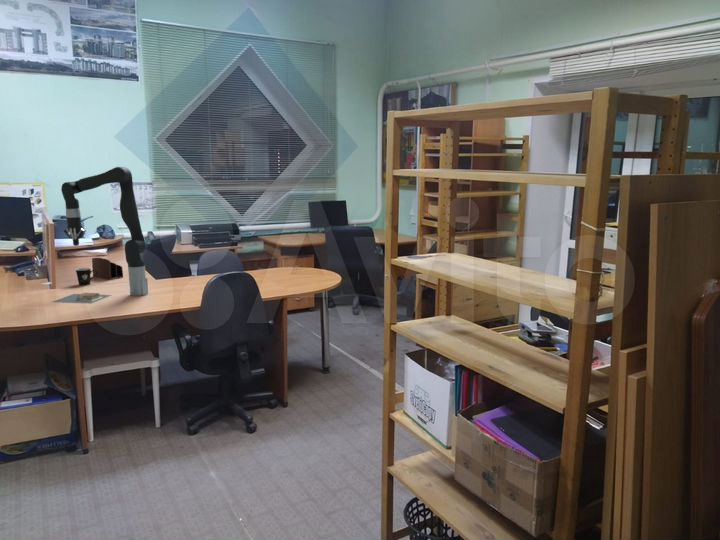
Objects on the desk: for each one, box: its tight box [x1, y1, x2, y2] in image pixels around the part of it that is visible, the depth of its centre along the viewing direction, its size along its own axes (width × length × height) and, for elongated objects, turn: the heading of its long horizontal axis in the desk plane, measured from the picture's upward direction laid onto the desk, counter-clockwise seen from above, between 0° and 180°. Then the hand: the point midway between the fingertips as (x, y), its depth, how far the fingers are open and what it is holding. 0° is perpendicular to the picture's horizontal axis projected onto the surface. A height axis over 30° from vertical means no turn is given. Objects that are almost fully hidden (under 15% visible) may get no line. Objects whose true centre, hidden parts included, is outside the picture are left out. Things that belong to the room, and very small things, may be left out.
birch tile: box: [77, 292, 100, 300], centre depth 306 cm, size 2×7×9 cm
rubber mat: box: [51, 293, 112, 304], centre depth 307 cm, size 24×20×1 cm
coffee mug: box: [75, 267, 97, 286], centre depth 348 cm, size 12×9×10 cm
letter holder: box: [91, 257, 124, 281], centre depth 371 cm, size 10×20×14 cm, turn 59°
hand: (76, 245), depth 318 cm, fingers closed
